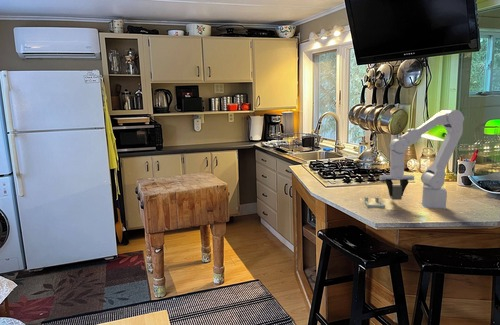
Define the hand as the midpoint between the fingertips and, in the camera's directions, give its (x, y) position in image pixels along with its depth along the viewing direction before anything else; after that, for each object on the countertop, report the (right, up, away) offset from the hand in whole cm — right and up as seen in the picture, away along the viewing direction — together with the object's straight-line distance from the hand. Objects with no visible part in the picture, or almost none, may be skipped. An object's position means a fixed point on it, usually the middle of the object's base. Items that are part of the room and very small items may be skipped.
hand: (395, 195), depth 167 cm
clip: (-8, -3, +9) cm, 12 cm away
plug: (+1, -1, +4) cm, 4 cm away
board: (-5, -5, +5) cm, 8 cm away
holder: (-9, -5, +2) cm, 10 cm away
